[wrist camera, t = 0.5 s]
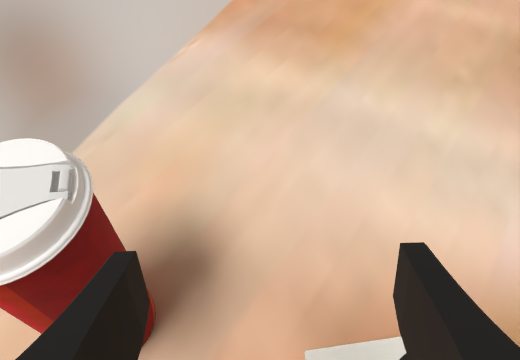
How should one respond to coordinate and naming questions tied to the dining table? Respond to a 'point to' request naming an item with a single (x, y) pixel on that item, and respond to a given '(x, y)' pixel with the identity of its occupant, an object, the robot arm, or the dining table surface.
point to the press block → (361, 351)
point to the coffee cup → (49, 232)
